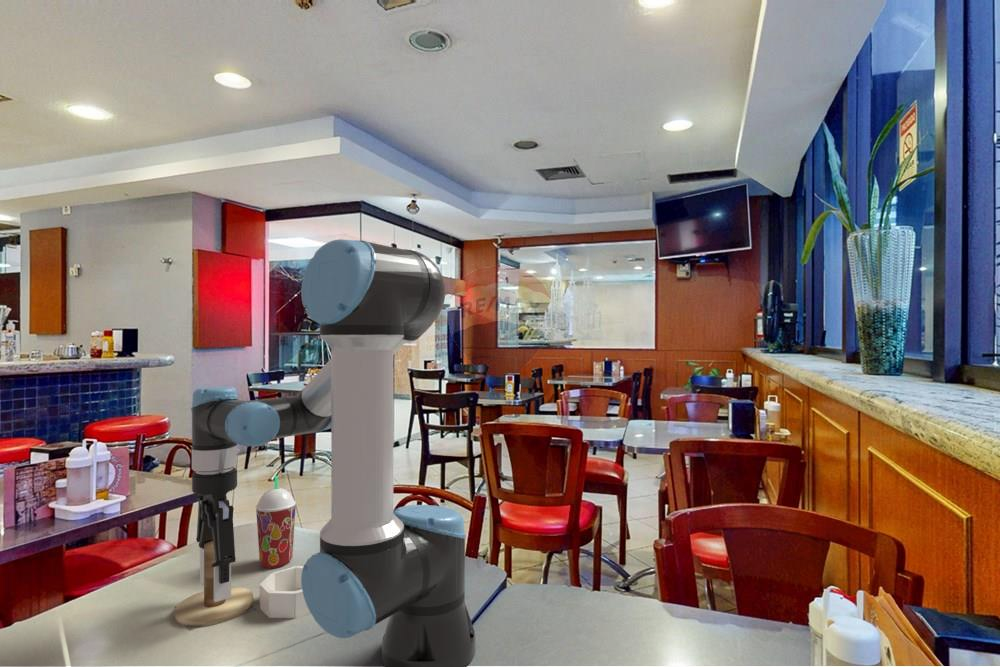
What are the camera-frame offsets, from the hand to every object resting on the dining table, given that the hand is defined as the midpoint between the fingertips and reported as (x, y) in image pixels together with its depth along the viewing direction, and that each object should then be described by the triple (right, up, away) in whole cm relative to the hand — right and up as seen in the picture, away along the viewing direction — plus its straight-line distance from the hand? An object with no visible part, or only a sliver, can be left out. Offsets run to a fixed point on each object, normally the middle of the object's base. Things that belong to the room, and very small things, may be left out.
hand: (215, 590), depth 102 cm
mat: (0, -4, 0) cm, 4 cm away
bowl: (+14, -4, +2) cm, 15 cm away
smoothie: (+3, -4, +20) cm, 21 cm away
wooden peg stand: (0, -3, 0) cm, 3 cm away
